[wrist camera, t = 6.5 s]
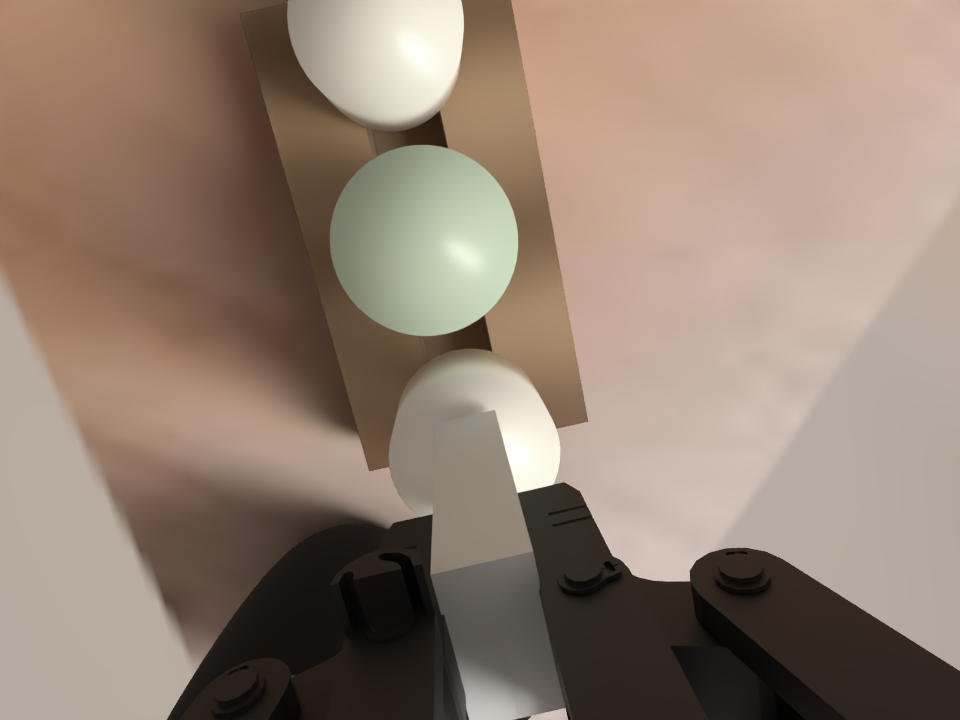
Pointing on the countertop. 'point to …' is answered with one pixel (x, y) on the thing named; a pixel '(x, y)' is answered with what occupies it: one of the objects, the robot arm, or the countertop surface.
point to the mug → (289, 611)
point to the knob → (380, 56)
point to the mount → (457, 126)
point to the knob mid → (423, 240)
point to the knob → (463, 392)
